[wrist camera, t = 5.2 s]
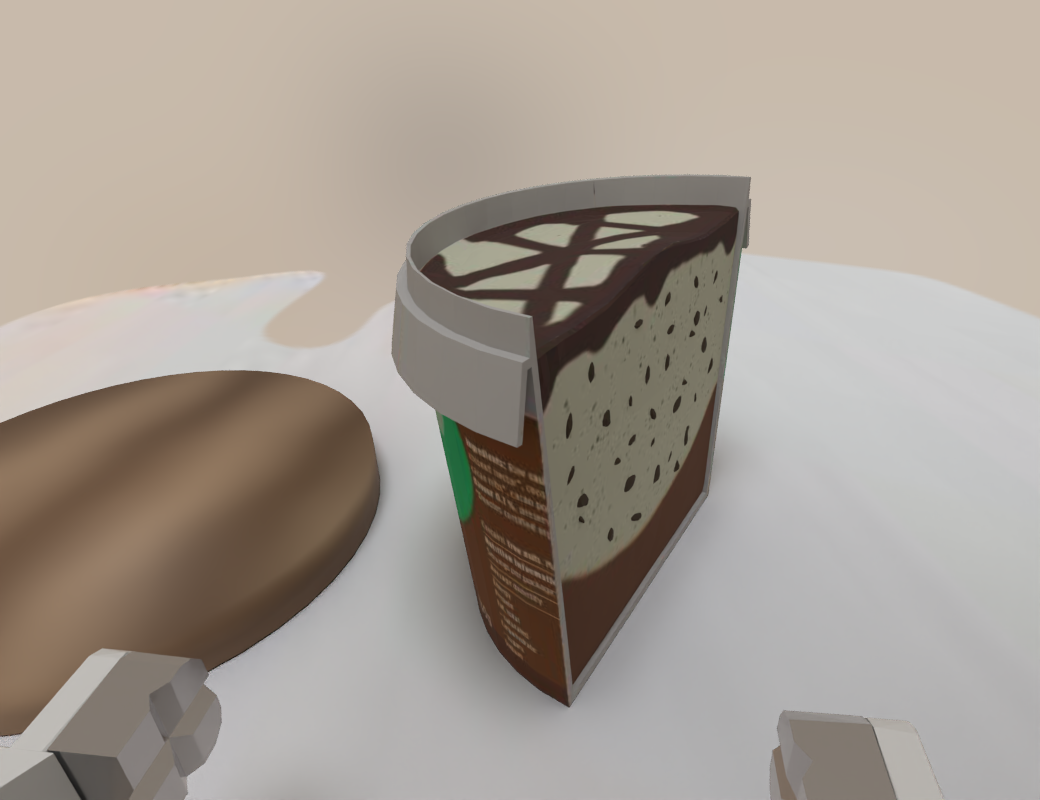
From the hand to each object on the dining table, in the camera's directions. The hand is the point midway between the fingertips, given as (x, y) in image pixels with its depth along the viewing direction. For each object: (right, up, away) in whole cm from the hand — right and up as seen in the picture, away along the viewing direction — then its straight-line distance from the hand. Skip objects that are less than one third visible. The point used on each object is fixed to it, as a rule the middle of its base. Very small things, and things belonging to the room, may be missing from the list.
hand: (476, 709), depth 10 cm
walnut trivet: (-12, 0, +13) cm, 18 cm away
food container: (+2, 0, +11) cm, 11 cm away
